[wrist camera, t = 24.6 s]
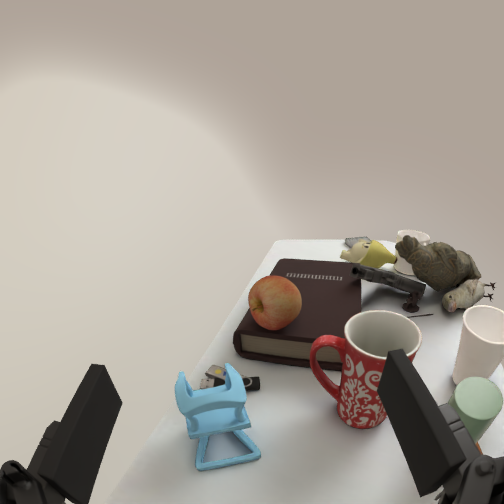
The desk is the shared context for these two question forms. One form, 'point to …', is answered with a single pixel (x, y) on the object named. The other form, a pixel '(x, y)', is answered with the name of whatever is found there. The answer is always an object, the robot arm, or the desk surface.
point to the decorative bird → (465, 295)
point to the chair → (216, 415)
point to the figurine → (413, 303)
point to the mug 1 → (365, 362)
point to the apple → (274, 302)
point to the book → (305, 315)
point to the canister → (476, 404)
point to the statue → (437, 263)
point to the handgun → (386, 278)
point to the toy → (369, 254)
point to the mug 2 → (401, 262)
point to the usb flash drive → (219, 379)
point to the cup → (480, 343)
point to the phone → (355, 240)
